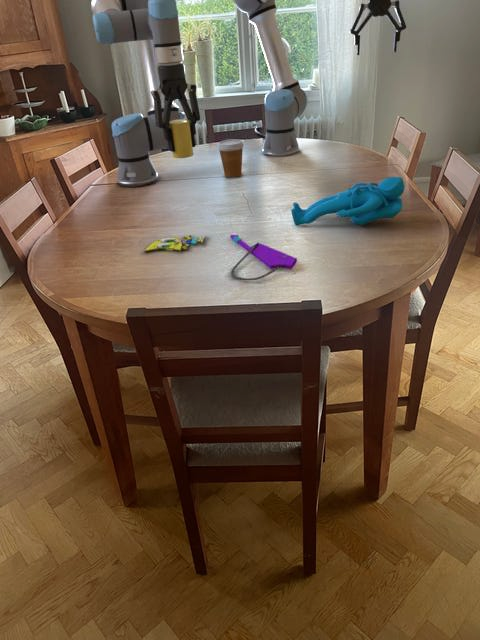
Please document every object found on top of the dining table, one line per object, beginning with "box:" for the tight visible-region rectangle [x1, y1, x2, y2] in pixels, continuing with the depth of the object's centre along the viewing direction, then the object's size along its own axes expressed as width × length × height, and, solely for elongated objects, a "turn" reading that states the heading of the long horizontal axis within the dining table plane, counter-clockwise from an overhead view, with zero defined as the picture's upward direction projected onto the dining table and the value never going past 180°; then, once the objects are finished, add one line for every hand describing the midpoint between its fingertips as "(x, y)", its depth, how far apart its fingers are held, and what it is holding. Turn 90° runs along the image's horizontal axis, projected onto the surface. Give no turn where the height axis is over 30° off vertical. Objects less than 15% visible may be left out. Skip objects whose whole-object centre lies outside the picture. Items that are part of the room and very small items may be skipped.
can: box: [169, 118, 194, 159], centre depth 145 cm, size 6×6×10 cm
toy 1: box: [144, 234, 207, 254], centre depth 130 cm, size 10×1×15 cm
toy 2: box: [290, 176, 405, 227], centre depth 131 cm, size 17×11×30 cm
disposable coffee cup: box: [217, 138, 245, 178], centre depth 178 cm, size 10×10×12 cm
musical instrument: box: [229, 234, 298, 281], centre depth 118 cm, size 24×2×20 cm
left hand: (182, 148), depth 147 cm, fingers closed on can, 6 cm apart
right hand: (376, 53), depth 183 cm, fingers open, 13 cm apart
